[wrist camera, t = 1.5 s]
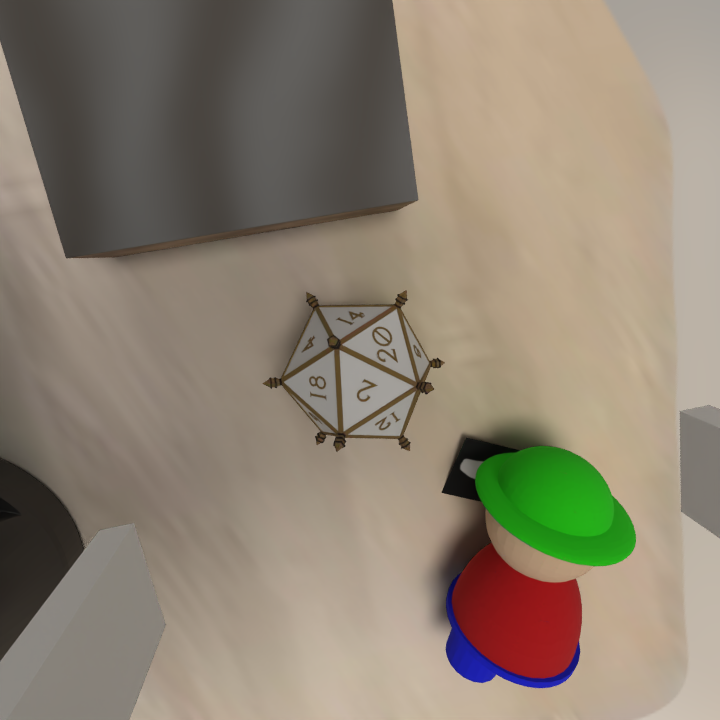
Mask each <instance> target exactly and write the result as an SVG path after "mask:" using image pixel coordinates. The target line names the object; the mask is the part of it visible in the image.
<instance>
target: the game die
mask: <svg viewBox="0 0 720 720" xmlns="http://www.w3.org/2000/svg"><path fill="white" fill-rule="evenodd" d="M306 294H307V301H306V302H308V303H309V306H311V307H313V311H312V313H311V316H310V318H309V320H308V322H307V324H306V326H305V328H304V330H303V333H302V335H301V337H300V339H299V341H298V343H297V345H296V347H295V350H294V352H293V354H292V356H291V358H290V360H289V362H288V364H287V367H286V369H285V371H284V373H283V375H282V377H281V378H280V379H278V378H276V377H275V378H269V380H267V381H266V382H264V383H263V384H264V385H266V386H268V387H270V388H271V389H272V387H275V388H277V386H279V385H282V386H283V387H284V388H285V390H286V391H287V392H288V393H289V394H290V396H291V397H292V398H293V399H294V400H295V401H296V403H297V404H298V405H299V406H300V407H301V408H302V410H303V411H304V412H305V413H306V414H307V416H308V417H309V418H310V419H311V420H312V421H313V423H314V424H315V425H316V426H317V427H318V429H319V430H320V431H321V432H320V433H317V436H315V438H316V444H317V445H318V444H320V443H323V442H324V441H325V440H324V439H325V438H326V435H331V436H336V438H335V441H334V445H333V446H335V449H336V451H339V450H340V449H341V448H343V447H345V445H344V444H345V443H346V441H345V438H386V439H398V440H399V445H401V448H404V449H406V450H408V451H410V442H409V441H408V438H405V437H404V432H405V430H406V427H407V425H408V422H409V420H410V417H411V415H412V412H413V410H414V407H415V405H416V402H417V400H418V397H419V395H420V392H422V393H423V392H425V394H428V393H429V392H430V391H432V390H434V388H433V386H432V385H431V383H428V382H425V380H426V377H427V375H428V372H429V370H430V367H433V368H440V367H441V366H442V365H443V364H444V363H445V362H443V361H441V360H439V359H438V358H437V359H433V360H432V361H429V359H428V357H427V356H426V354H425V352H424V350H423V348H422V346H421V345H420V343H419V341H418V339H417V337H416V336H415V334H414V332H413V330H412V328H411V327H410V325H409V323H408V321H407V319H406V318H405V316H404V314H403V312H402V310H401V309H400V308H401V306H402V305H403V304H404V305H405V302H406V301H407V290H406V291H404V292H403V293H401V294H398V295H397V296H398V297H397V298H396V299H395V300H396V302H395V304H393V305H325V306H319V305H318V302H317V301H318V300H316V298H315V297H316V296H313V295H311V294H309V293H307V292H306Z"/></svg>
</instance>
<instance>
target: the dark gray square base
mask: <svg viewBox="0 0 720 720" xmlns="http://www.w3.org/2000/svg"><path fill="white" fill-rule="evenodd" d="M0 41H1V45H2V48H3V51H4V55H5V58H6V61H7V65H8V68H9V71H10V74H11V78H12V81H13V84H14V88H15V91H16V94H17V98H18V101H19V104H20V108H21V111H22V114H23V117H24V121H25V124H26V127H27V131H28V134H29V137H30V141H31V144H32V147H33V150H34V154H35V157H36V160H37V164H38V167H39V170H40V174H41V177H42V180H43V184H44V187H45V190H46V193H47V197H48V200H49V203H50V207H51V210H52V213H53V217H54V220H55V223H56V226H57V230H58V233H59V236H60V240H61V243H62V246H63V250H64V253H65V256H66V258H105V257H119V256H125V255H131V254H137V253H143V252H149V251H155V250H161V249H167V248H173V247H179V246H185V245H191V244H197V243H203V242H209V241H215V240H221V239H227V238H233V237H239V236H245V235H251V234H257V233H263V232H269V231H276V230H282V229H288V228H294V227H300V226H306V225H312V224H318V223H324V222H330V221H336V220H342V219H348V218H354V217H360V216H366V215H372V214H378V213H384V212H390V211H396V210H399V209H401V208H403V207H405V206H407V205H409V204H411V203H413V202H415V201H417V200H418V194H417V186H416V179H415V171H414V163H413V156H412V148H411V140H410V133H409V125H408V117H407V110H406V102H405V94H404V87H403V79H402V72H401V64H400V56H399V49H398V41H397V33H396V26H395V18H394V10H393V3H392V0H0Z"/></svg>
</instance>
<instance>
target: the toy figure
mask: <svg viewBox="0 0 720 720" xmlns="http://www.w3.org/2000/svg"><path fill="white" fill-rule="evenodd" d="M442 493H445V494H449V495H454V496H458V497H463V498H467V499H472V500H477V501H481V502H482V503H483V505H484V507H485V508H486V526H487V531H488V535H489V537H490V540H491V542H492V543H490V544H488V545H487V546H485V547H484V548H483V549H481V550H480V551H479V552H478V553H477V554H476V555H475V556H474V557H473V558H472V559H471V560H470V562H469V563H468V564H467V566H466V567H465V568H464V570H463V572H461V573H460V574H458V575H457V576H456V577H455V579H454V580H453V581H452V583H451V585H450V587H449V590H448V594H447V598H446V609H447V615H448V619H449V621H450V624H451V627H452V629H451V632H450V635H449V637H448V640H447V643H446V654H447V657H448V660H449V662H450V664H451V665H452V667H453V668H454V669H455V670H456V671H457V672H458V673H459V674H460V675H462V676H463V677H464V678H466V679H468V680H471V681H473V682H479V683H483V682H487V681H490V680H492V679H493V678H494V677H495V675H496V674H497V675H498V676H500V677H502V678H504V679H506V680H508V681H511V682H513V683H516V684H519V685H523V686H527V687H533V688H549V687H553V686H556V685H559V684H561V683H563V682H564V681H566V680H567V679H568V678H569V677H570V676H571V675H572V673H573V671H574V670H575V668H576V666H577V664H578V661H579V656H580V646H579V638H580V632H581V624H582V604H581V597H580V591H579V587H578V584H577V581H576V578H578V577H580V576H582V575H584V574H585V573H587V572H588V571H589V570H591V569H592V568H593V567H594V566H607V565H612V564H616V563H618V562H620V561H623V560H624V559H625V558H627V557H628V556H629V555H630V554H631V553H632V551H633V549H634V547H635V543H636V534H635V530H634V526H633V524H632V521H631V519H630V517H629V515H628V514H627V512H626V511H625V509H624V508H623V507H622V506H621V504H620V503H619V502H618V501H617V500H616V499H615V498H614V497H613V496H612V494H611V492H610V489H609V487H608V485H607V483H606V482H605V480H604V478H603V477H602V476H601V474H600V473H599V472H598V471H597V470H596V469H595V468H594V467H593V466H592V465H591V464H590V463H589V462H587V461H586V460H585V459H583V458H582V457H580V456H578V455H576V454H574V453H572V452H570V451H567V450H565V449H561V448H557V447H551V446H536V447H530V448H526V449H523V450H521V451H520V450H516V449H512V448H508V447H503V446H499V445H495V444H491V443H487V442H483V441H479V440H474V439H470V438H466V439H465V441H464V443H463V446H462V448H461V450H460V452H459V455H458V457H457V459H456V461H455V464H454V466H453V468H452V471H451V473H450V475H449V477H448V480H447V482H446V484H445V487H444V489H443V491H442Z"/></svg>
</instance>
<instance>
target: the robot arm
mask: <svg viewBox="0 0 720 720" xmlns="http://www.w3.org/2000/svg"><path fill="white" fill-rule="evenodd" d="M680 468H681V512H682V513H684V514H685V515H687V516H688V517H690V518H691V519H693V520H694V521H695V522H697V523H698V524H700V525H701V526H703V527H704V528H706V529H707V530H709V531H710V532H711V533H713V534H714V535H716V536H717V537H719V538H720V409H718V408H716V407H713V406H710V405H707V406H703V407H698V408H693V409H688V410H683V411H680ZM165 625H166V624H165V621H164V618H163V614H162V611H161V608H160V605H159V601H158V598H157V595H156V592H155V589H154V585H153V582H152V579H151V576H150V573H149V569H148V566H147V563H146V560H145V557H144V553H143V550H142V547H141V544H140V540H139V537H138V534H137V531H136V528H135V524H134V523H131V524H127V525H122V526H117V527H112V528H107V529H102V530H99V531H98V533H97V534H96V535H95V537H94V538H93V539H92V541H91V542H90V543H89V545H88V546H87V547H86V549H85V550H84V551H83V547H82V543H81V540H80V536H79V534H78V531H77V529H76V527H75V525H74V523H73V521H72V519H71V517H70V516H69V514H68V512H67V511H66V510H65V508H64V507H63V505H62V504H61V503H60V502H59V500H58V499H57V498H56V497H55V496H54V495H53V494H52V493H51V492H50V491H49V490H48V489H47V488H46V487H45V486H44V485H42V484H41V483H40V482H39V481H37V480H36V479H35V478H33V477H32V476H31V475H29V474H28V473H26V472H24V471H23V470H21V469H20V468H18V467H16V466H14V465H12V464H10V463H8V462H6V461H3V460H1V459H0V720H129V719H130V717H131V714H132V711H133V709H134V706H135V704H136V701H137V698H138V696H139V693H140V691H141V688H142V685H143V683H144V680H145V677H146V675H147V672H148V670H149V667H150V664H151V662H152V659H153V657H154V654H155V651H156V649H157V646H158V644H159V641H160V638H161V636H162V633H163V631H164V628H165Z"/></svg>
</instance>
